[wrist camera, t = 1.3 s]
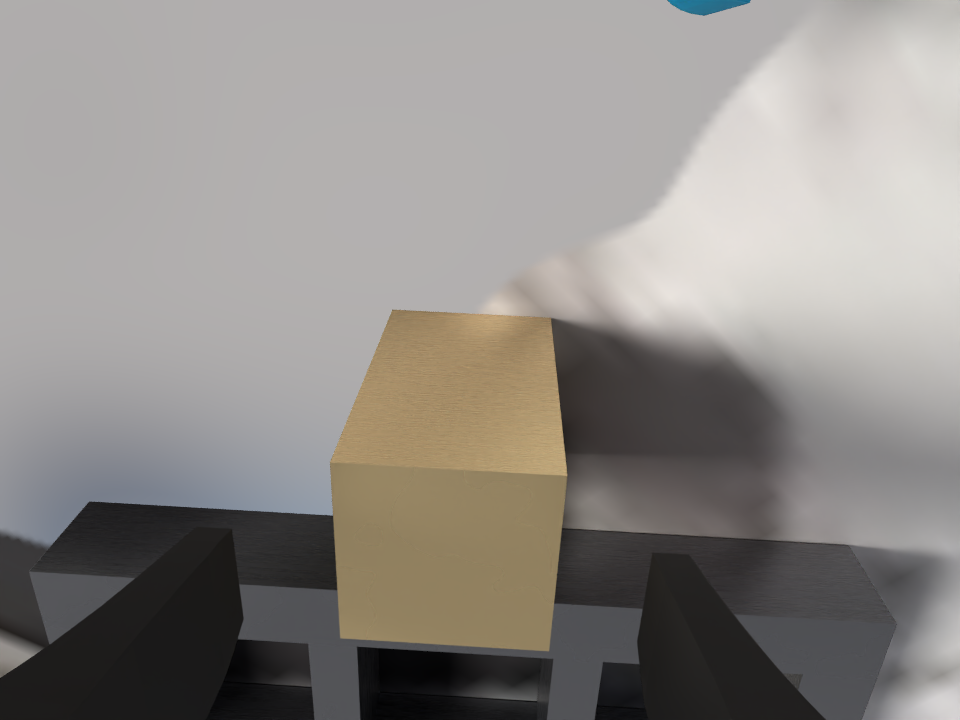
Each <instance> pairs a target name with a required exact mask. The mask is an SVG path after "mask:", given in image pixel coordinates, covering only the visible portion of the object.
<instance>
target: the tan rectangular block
mask: <svg viewBox="0 0 960 720" xmlns="http://www.w3.org/2000/svg"><path fill="white" fill-rule="evenodd" d="M330 468H331V469H330V470H331V486H332V504H333V521H334V539H335V556H336V573H337V590H338V607H339V625H340V638H344V639H360V640H376V641H392V642H408V643H424V644H440V645H456V646H472V647H488V648H504V649H520V650H536V651H549V647H550V637H551V628H552V618H553V609H554V599H555V589H556V580H557V570H558V561H559V551H560V542H561V532H562V522H563V513H564V503H565V494H566V484H567V468H566V458H565V449H564V439H563V430H562V420H561V411H560V401H559V392H558V382H557V373H556V363H555V354H554V344H553V335H552V325H551V318H543V317H523V316H504V315H484V314H466V313H447V312H426V311H406V310H392V312H391V315H390V317H389V320H388V322H387V325H386V327H385V330H384V332H383V334H382V337H381V339H380V342H379V344H378V347H377V349H376V351H375V354H374V356H373V359H372V361H371V364H370V366H369V368H368V371H367V374H366V376H365V378H364V381H363V383H362V386H361V388H360V390H359V393H358V395H357V398H356V400H355V403H354V405H353V408H352V410H351V413H350V415H349V417H348V420H347V422H346V425H345V427H344V429H343V432H342V434H341V437H340V440H339V442H338V444H337V447H336V449H335V451H334V454H333V457H332V459H331V461H330Z"/></svg>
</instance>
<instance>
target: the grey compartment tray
mask: <svg viewBox="0 0 960 720" xmlns="http://www.w3.org/2000/svg"><path fill="white" fill-rule="evenodd" d="M196 527H211V528H229V529H232V533H233V541H234V548H235V556H236V563H237V571H238V579H239V586H240V594H241V602H242V609H243V617H244V620H243V623H242V626H241V630H240V633H239V636H238V639H244V640H260V641H276V642H292V643H308V647H309V659H310V671H311V683H312V688H304V687H289V686H273V685H257V684H242V683H226V682H223V683H222V685H221V688H220V690H219V692H218V694H217V696H216V699H215V701H214V703H213V705H212V707H211V710H210V712H209V714H208V716H207V718H206V720H648V717H647V712H646V709H633V708H617V707H601V706H597V700H598V693H599V686H600V679H601V673H602V666H603V662H612V663H628V664H639V656H638V647H637V639H638V633H639V627H640V622H641V616H642V610H643V604H644V598H645V593H646V587H647V581H648V575H649V569H650V564H651V558H652V552H654V553H671V554H689V556H690V557H691V558H692V559H693V560H694V561H695V563H696V564H697V565H698V567H699V568H700V570H701V571H702V572H703V574H704V575H705V576H706V578H707V579H708V580H709V582H710V583H711V585H712V586H713V587H714V589H715V590H716V591H717V593H718V594H719V595H720V597H721V598H722V599H723V601H724V602H725V603H726V605H727V606H728V607H729V608H730V610H731V611H732V612H733V614H734V615H735V616H736V618H737V619H738V620H739V621H740V623H741V624H742V625H743V626H744V628H745V629H746V630H747V631H748V633H749V634H750V635H751V636H752V637H753V639H754V640H755V641H756V642H757V644H758V645H759V646H760V647H761V648H762V650H763V651H764V652H765V653H766V655H767V656H768V657H769V658H770V659H771V660H772V662H773V663H774V664H775V665H776V666H777V667H778V669H779V670H780V671H781V672H782V673H783V674H784V675H785V676H786V678H787V679H788V680H789V681H790V682H791V683H792V684H793V685H794V686H795V687H796V689H797V690H798V691H799V692H800V693H801V694H802V695H803V696H804V697H805V698H806V699H807V701H808V702H809V703H810V704H811V705H812V706H813V707H814V708H815V709H816V710H817V711H818V712H819V713H820V714H821V715H822V716H823V717H824V718H825V719H826V720H862V717H863V714H864V712H865V709H866V706H867V704H868V701H869V698H870V695H871V693H872V690H873V687H874V685H875V682H876V679H877V676H878V674H879V671H880V668H881V666H882V663H883V660H884V657H885V655H886V652H887V649H888V647H889V644H890V641H891V638H892V636H893V633H894V630H895V628H896V625H897V624H896V622H895V621H894V619H893V617H892V616H891V614H890V613H889V611H888V609H887V608H886V606H885V604H884V603H883V601H882V599H881V598H880V596H879V595H878V593H877V591H876V590H875V588H874V586H873V585H872V583H871V581H870V580H869V578H868V577H867V575H866V573H865V572H864V570H863V568H862V567H861V565H860V563H859V562H858V560H857V559H856V557H855V555H854V554H853V552H852V550H851V549H850V547H849V546H844V545H827V544H809V543H792V542H775V541H758V540H741V539H724V538H706V537H689V536H672V535H655V534H638V533H621V532H603V531H586V530H569V529H562V532H561V542H560V551H559V561H558V570H557V580H556V589H555V599H554V609H553V618H552V628H551V637H550V647H549V651H536V650H520V649H504V648H488V647H472V646H456V645H440V644H424V643H408V642H392V641H376V640H360V639H344V638H340V625H339V607H338V590H337V573H336V556H335V539H334V521H333V516H328V515H310V514H294V513H277V512H260V511H243V510H226V509H225V510H224V509H208V508H191V507H173V506H157V505H140V504H122V503H105V502H89V503H88V504H87V505H86V506H85V507H84V508H83V510H82V511H81V512H80V513H79V514H78V515H77V516H76V518H75V519H74V520H73V521H72V522H71V524H69V526H68V527H67V528H66V529H65V530H64V532H63V533H62V534H61V535H60V536H59V537H58V539H57V540H56V541H55V542H54V543H53V544H52V545H51V547H50V548H49V549H48V550H47V551H46V552H45V554H44V555H43V556H42V557H41V558H40V559H39V561H38V562H37V563H36V564H35V565H34V566H33V568H32V569H31V570H30V571H29V573H30V577H31V581H32V584H33V588H34V591H35V595H36V598H37V602H38V605H39V609H40V612H41V616H42V619H43V623H44V626H45V630H46V633H47V637H48V640H49V644H51V643H53V642H54V641H55V640H57V639H58V638H59V637H61V636H62V635H63V634H65V633H66V632H67V631H69V630H70V629H71V628H73V627H74V626H75V625H77V624H78V623H79V622H81V621H82V620H83V619H85V618H86V617H87V616H89V615H90V614H91V613H93V612H94V611H95V610H97V609H98V608H99V607H101V606H102V605H103V604H104V603H105V602H107V601H108V600H109V599H110V598H112V597H113V596H114V595H115V594H117V593H118V592H119V591H120V590H121V589H123V588H124V587H125V586H126V585H128V584H129V583H130V582H131V581H133V580H134V579H135V578H136V577H137V576H139V575H140V574H141V573H142V572H143V571H144V570H146V569H147V568H148V567H149V566H150V565H152V564H153V563H154V562H155V561H156V560H158V559H159V558H160V557H161V556H162V555H163V554H165V553H166V552H167V551H168V550H169V549H171V548H172V547H173V546H174V545H175V544H177V543H178V542H179V541H180V540H181V539H183V538H184V537H185V536H186V535H187V534H189V533H190V532H191V531H192V530H194V529H195V528H196ZM379 648H388V649H404V650H420V651H436V652H452V653H468V654H484V655H500V656H516V657H532V658H541V667H540V677H539V688H538V698H537V702H523V701H508V700H492V699H476V698H461V697H445V696H429V695H414V694H398V693H383V692H380V683H379Z"/></svg>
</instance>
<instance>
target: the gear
mask: <svg viewBox="0 0 960 720" xmlns="http://www.w3.org/2000/svg"><path fill="white" fill-rule="evenodd" d="M668 1H669V2H670V3H671V4H672V5H673V6H675V7H677V8H678V9H680V10H682V11H685V12H688V13H691V14H697V15H703V16H704V15H708V14H712V13H715V12H719V11H723V10H726V9H730V8H733V7H737V6H740V5H744V4H747V3H750V0H668Z"/></svg>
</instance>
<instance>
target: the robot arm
mask: <svg viewBox="0 0 960 720" xmlns="http://www.w3.org/2000/svg"><path fill="white" fill-rule="evenodd" d="M243 620H244V617H243V609H242V602H241V594H240V586H239V579H238V571H237V563H236V556H235V548H234V541H233V533H232V529H229V528H211V527H196V528H195V529H194V530H192V531H191V532H190V533H189V534H187V535H186V536H185V537H184V538H183V539H181V540H180V541H179V542H178V543H177V544H175V545H174V546H173V547H172V548H171V549H169V550H168V551H167V552H166V553H165V554H163V555H162V556H161V557H160V558H159V559H158V560H156V561H155V562H154V563H153V564H152V565H150V566H149V567H148V568H147V569H146V570H144V571H143V572H142V573H141V574H140V575H139V576H137V577H136V578H135V579H134V580H133V581H131V582H130V583H129V584H128V585H126V586H125V587H124V588H123V589H121V590H120V591H119V592H118V593H117V594H115V595H114V596H113V597H112V598H110V599H109V600H108V601H107V602H105V603H104V604H103V605H102V606H101V607H99V608H98V609H97V610H95V611H94V612H93V613H91V614H90V615H89V616H87V617H86V618H85V619H83V620H82V621H81V622H79V623H78V624H77V625H75V626H74V627H73V628H71V629H70V630H69V631H67V632H66V633H65V634H63V635H62V636H61V637H59V638H58V639H57V640H55V641H54V642H53V643H51V644H50V645H49V646H47V647H46V648H44V649H43V650H41V651H40V652H39V653H37V654H36V655H34V656H33V657H31V658H30V659H28V660H27V661H25V662H24V663H22V664H21V665H20V666H18V667H17V668H15V669H13V670H12V671H10V672H9V673H7V674H6V675H4V676H3V677H1V678H0V720H206V718H207V716H208V714H209V712H210V710H211V707H212V705H213V703H214V701H215V699H216V696H217V694H218V692H219V690H220V688H221V685H222V683H223V681H224V678H225V676H226V674H227V670H228V667H229V664H230V661H231V658H232V655H233V652H234V649H235V646H236V643H237V639H238V636H239V633H240V630H241V626H242V623H243ZM637 647H638V656H639V665H640V674H641V682H642V690H643V698H644V704H645V708H646V712H647V717H648V720H826V719H825V718H824V717H823V716H822V715H821V714H820V713H819V712H818V711H817V710H816V709H815V708H814V707H813V706H812V705H811V704H810V703H809V702H808V701H807V699H806V698H805V697H804V696H803V695H802V694H801V693H800V692H799V691H798V690H797V689H796V687H795V686H794V685H793V684H792V683H791V682H790V681H789V680H788V679H787V678H786V676H785V675H784V674H783V673H782V672H781V671H780V670H779V669H778V667H777V666H776V665H775V664H774V663H773V662H772V660H771V659H770V658H769V657H768V656H767V655H766V653H765V652H764V651H763V650H762V648H761V647H760V646H759V645H758V644H757V642H756V641H755V640H754V639H753V637H752V636H751V635H750V634H749V633H748V631H747V630H746V629H745V628H744V626H743V625H742V624H741V623H740V621H739V620H738V619H737V618H736V616H735V615H734V614H733V612H732V611H731V610H730V608H729V607H728V606H727V605H726V603H725V602H724V601H723V599H722V598H721V597H720V595H719V594H718V593H717V591H716V590H715V589H714V587H713V586H712V585H711V583H710V582H709V580H708V579H707V578H706V576H705V575H704V574H703V572H702V571H701V570H700V568H699V567H698V565H697V564H696V563H695V561H694V560H693V559H692V558H691V557H690V556H689V554H671V553H654V552H652V558H651V564H650V569H649V575H648V581H647V587H646V593H645V598H644V604H643V610H642V616H641V622H640V627H639V633H638V639H637Z"/></svg>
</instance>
